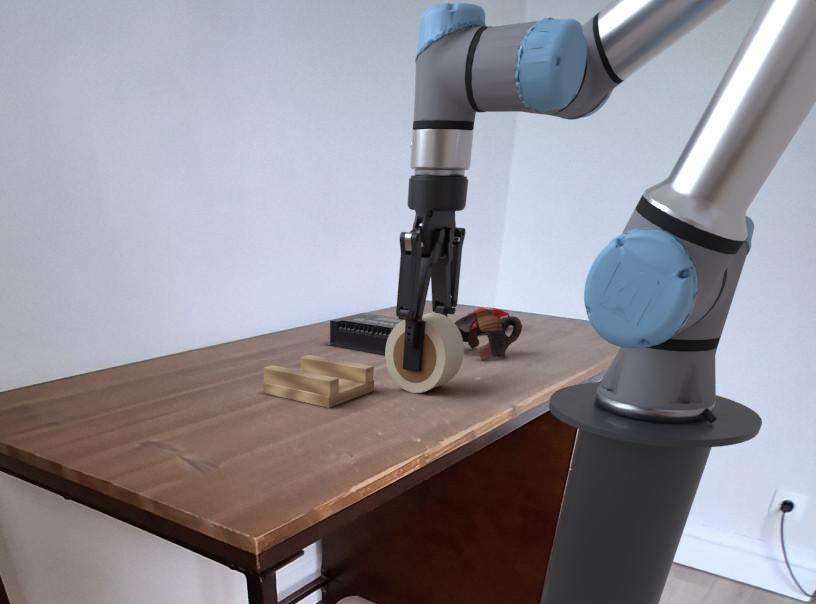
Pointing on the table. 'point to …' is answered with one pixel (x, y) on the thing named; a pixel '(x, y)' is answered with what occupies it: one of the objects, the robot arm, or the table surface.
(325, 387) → the tape holder
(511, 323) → the pottery mug
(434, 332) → the tape roll
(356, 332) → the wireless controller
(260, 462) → the table surface
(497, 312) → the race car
